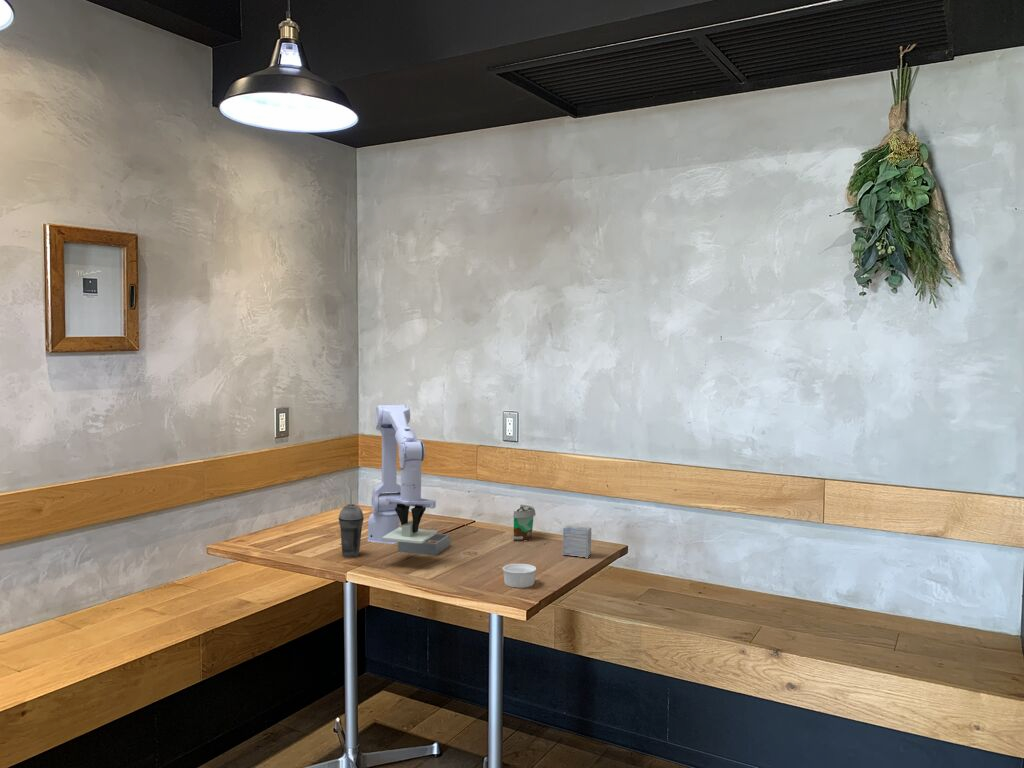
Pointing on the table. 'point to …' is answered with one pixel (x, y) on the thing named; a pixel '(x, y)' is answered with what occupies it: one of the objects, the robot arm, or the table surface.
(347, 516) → the beverage cup
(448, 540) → the storage box
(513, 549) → the table surface
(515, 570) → the ramekin
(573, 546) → the medicine box
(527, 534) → the food container
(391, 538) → the lid
